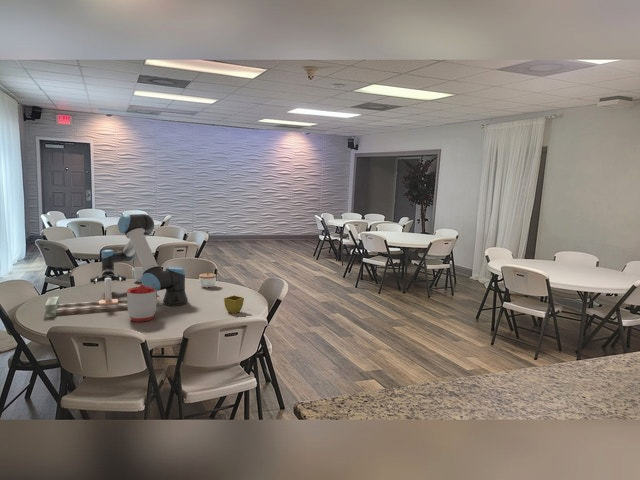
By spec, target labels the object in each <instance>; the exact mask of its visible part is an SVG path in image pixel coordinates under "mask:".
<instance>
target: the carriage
mask: <svg viewBox="0 0 640 480" xmlns="http://www.w3.org/2000/svg"><path fill="white" fill-rule="evenodd" d="M112 291H113V289H112V281H111V278H105V281H104V299H99V306H108V305H118V300H119V299H118V298H112V297H113V296H112V295H113V292H112Z"/></svg>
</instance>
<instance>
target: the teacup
mask: <svg viewBox="0 0 640 480" xmlns="http://www.w3.org/2000/svg"><path fill="white" fill-rule="evenodd" d="M131 270H132V275H133V278H134V280H136V282H137V283H142V280H141V278H142V276H143V272H144V270H143V268H142V266H136V267H132V268H131Z"/></svg>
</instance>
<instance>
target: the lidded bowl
mask: <svg viewBox="0 0 640 480" xmlns="http://www.w3.org/2000/svg"><path fill="white" fill-rule="evenodd" d="M198 280H199V285H201V287H202V288H203V287H212V288H213V287H214V286H215V285H216V283H217V274H215V273H211V272H210V273H209V272H206V273H205V272H204V273H200V274H199V275H198Z"/></svg>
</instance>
